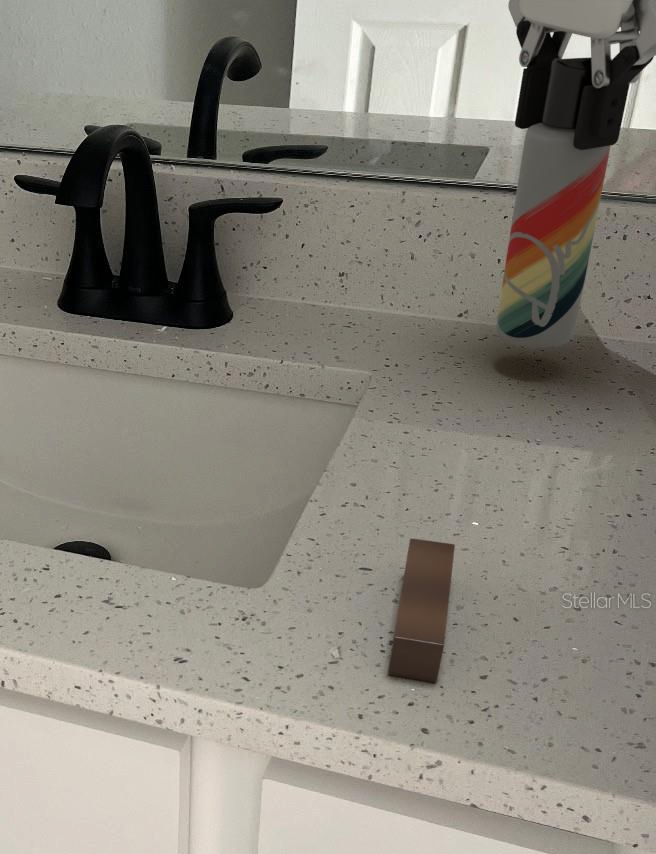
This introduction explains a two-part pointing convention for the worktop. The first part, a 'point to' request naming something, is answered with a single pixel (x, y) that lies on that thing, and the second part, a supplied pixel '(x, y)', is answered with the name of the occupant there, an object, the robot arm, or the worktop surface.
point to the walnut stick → (422, 611)
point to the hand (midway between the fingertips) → (564, 133)
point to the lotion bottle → (552, 218)
